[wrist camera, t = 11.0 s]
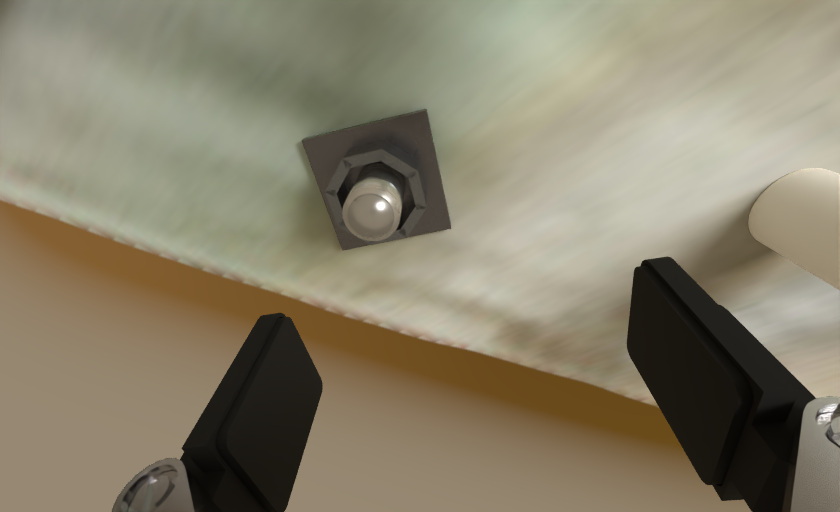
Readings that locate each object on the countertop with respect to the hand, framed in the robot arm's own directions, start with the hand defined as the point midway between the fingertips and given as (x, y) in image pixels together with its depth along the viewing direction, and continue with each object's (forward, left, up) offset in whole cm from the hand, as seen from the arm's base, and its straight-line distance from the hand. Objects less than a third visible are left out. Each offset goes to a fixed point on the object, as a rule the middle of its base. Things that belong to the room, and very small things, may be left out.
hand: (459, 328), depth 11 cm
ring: (+2, -5, -22) cm, 23 cm away
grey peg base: (+2, -5, -23) cm, 24 cm away
